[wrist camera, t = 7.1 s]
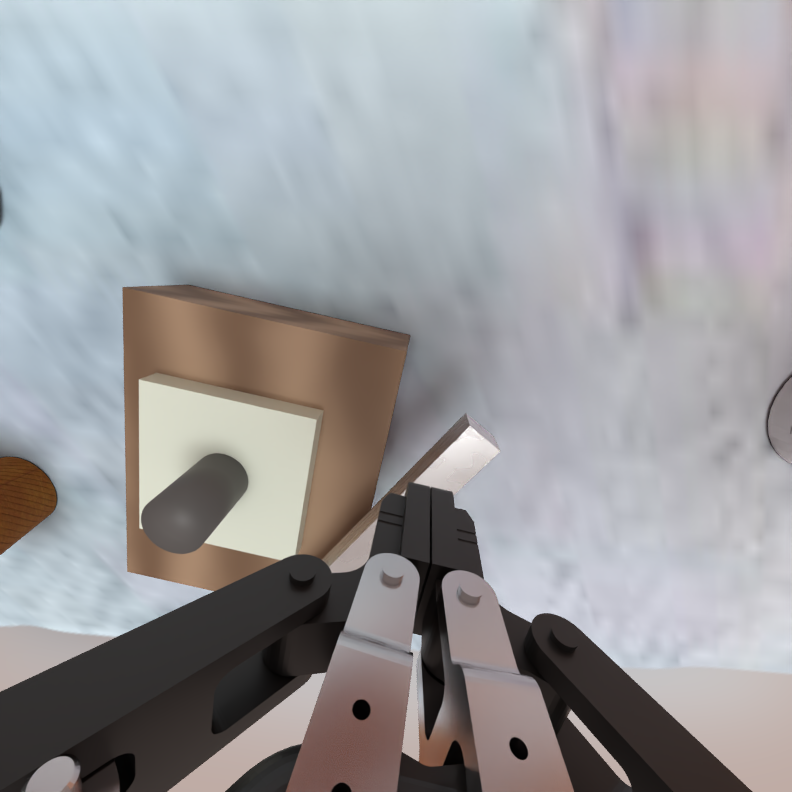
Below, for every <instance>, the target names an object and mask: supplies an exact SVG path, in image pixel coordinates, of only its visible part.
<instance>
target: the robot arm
mask: <svg viewBox="0 0 792 792" xmlns="http://www.w3.org/2000/svg"><path fill="white" fill-rule="evenodd" d="M768 433H769V437H770V440H771V443H772V446H773V447H774V449H775V450H776V452H777V453H778V455H780V456H781V457H782V458H783V459H784V460H786V461H787V462H788V463H790V464H792V377H791V378H790V379H789V380H788V381H787V382H786V383H785V385H784V386H783V388H782V389H781V391H780V392H779V393H778V395H777V396H776V399H775V401H774V403H773V405H772V408H771V410H770V415H769V420H768ZM413 633H414V634H418V635H422V646H421V650H420V653H419V656H418V659H417V691H418V692H417V694H418V720H419V748H420V749H419V762H418V761H416V760H414V759H413V758H411V757H409V756H408V755H406V754H404V753H403V752H402V745H403V737H404V729H405V721H406V712H407V704H408V697H409V689H410V680H411V672H412V663H413V653H412V652H410V650H411V642H412V634H413ZM325 672H327V673H326V676H325V679H324V682H323V684H322V688H321V690H320V693H319V696H318V699H317V702H316V705H315V708H314V711H313V714H312V717H311V719H310V723H309V725H308V728H307V731H306V734H305V737H304V740H303V743H302V744H300V745H296V746H292V747H289V748H286V749H284V750H281V751H279V752H277V753H275V754H273V755H271V756H269V757H267V758H266V759H264V760H262V761H261V762H260V763H258V764H257V765H255V766H254V767H253V768H251V769H250V770H249V771H247V772H246V773H245V774H244V775H243V776H242V777H241V778H239V779H238V780H237V781H236V782H235V783H234V784H233V785H232V786H231V787H230V788H229V789H228V790H226V791H225V792H752V791H751V790H750V789H749V788H748V787H747V786H746V785H745V784H743V782H741V781H740V780H739V779H738V778H737V777H736V776H735V775H734V774H733V773H732V772H731V771H730V770H729V769H728V768H726V767H725V766H724V765H723V764H722V763H721V762H720V761H719V760H718V759H717V758H716V757H715V756H714V755H713V754H712V753H711V752H709V751H708V750H707V749H706V748H705V747H704V746H703V745H702V744H701V743H700V742H699V741H698V740H697V739H696V738H695V737H693V736H692V735H691V734H690V733H689V732H688V731H687V730H686V729H685V728H684V727H683V726H682V725H681V724H680V723H679V722H677V721H676V720H675V719H674V718H673V717H672V716H671V715H670V714H669V713H668V712H667V711H666V710H665V709H663V707H662V706H661V705H659V704H658V703H657V702H656V701H655V700H654V699H653V698H652V697H651V696H650V695H649V694H648V693H647V692H646V691H645V690H643V689H642V688H641V687H640V686H639V685H638V684H637V683H636V682H635V681H634V680H633V679H632V678H631V677H630V676H629V675H627V674H626V673H625V672H624V671H623V670H622V669H621V668H620V667H619V666H618V665H617V664H616V663H615V662H614V661H613V660H612V659H610V658H609V657H608V656H607V655H606V654H605V653H604V652H603V651H602V650H601V649H600V648H599V647H598V646H597V645H596V644H595V643H593V642H592V641H591V640H590V639H589V638H588V637H587V636H586V635H585V634H584V633H583V632H582V631H581V630H580V629H578V628H577V627H576V626H575V625H574V624H572V623H571V622H569V621H568V620H566V619H564V618H562V617H560V616H557V615H554V614H549V613H544V614H539V615H537V616H536V617H535V618H534V619H533V621H532V623H530V622H528V621H526V620H524V619H522V618H520V617H519V616H517V615H515V614H513V613H511V612H509V611H507V610H506V609H505V608H503V607H502V606H501V605H499V603H498V600H497V597H496V594H495V592H494V590H493V589H492V587H491V586H490V585H489V584H488V583H487V582H486V581H485V580H484V577H483V571H482V566H481V560H480V554H479V549H478V545H477V537H476V532H475V526H474V521H473V520H472V519H471V517H470V516H469V514H468V513H467V511H466V510H462V509H458V508H455V507H454V497H453V492H452V491H447V490H443V489H439V488H435V487H431V488H430V486H426V485H422V484H417V483H413V482H408V484H407V488H406V492H405V496H402V495H398V494H394V493H389V494H388V495H387V496H386V497H385V498H384V499H383V500H382V502H381V507H380V511H379V515H378V519H377V524H376V528H375V532H374V537H373V541H372V546H371V550H370V555H369V559H368V560H367V562H366V563H365V564H364V565H363V566H361V567H360V568H358V569H356V570H353V571H350V572H342V573H332V572H331V570H330V568H329V566H328V565H327V564H326V563H325V562H324V561H323V560H321V559H320V558H317V557H315V556H312V555H306V554H298V555H293V556H289V557H287V558H284V559H282V560H280V561H278V562H276V563H274V564H272V565H269V566H267V567H265V568H263V569H261V570H259V571H257V572H255V573H252V574H250V575H248V576H246V577H244V578H242V579H240V580H238V581H235V582H233V583H231V584H229V585H227V586H225V587H223V588H220V589H218V590H216V591H214V592H212V593H210V594H208V595H206V596H203V597H201V598H199V599H197V600H195V601H193V602H191V603H189V604H186V605H184V606H182V607H180V608H178V609H176V610H174V611H172V612H169V613H167V614H165V615H163V616H161V617H159V618H157V619H155V620H152V621H150V622H148V623H146V624H144V625H142V626H140V627H138V628H135V629H133V630H131V631H129V632H127V633H125V634H123V635H120V636H118V637H116V638H114V639H112V640H110V641H108V642H106V643H104V644H101V645H99V646H97V647H95V648H93V649H91V650H89V651H87V652H84V653H82V654H80V655H78V656H76V657H74V658H72V659H70V660H67V661H65V662H63V663H61V664H59V665H57V666H55V667H52V668H50V669H48V670H46V671H44V672H42V673H40V674H38V675H36V676H33V677H31V678H29V679H27V680H25V681H23V682H20V683H18V684H16V685H14V686H12V687H10V688H8V689H6V690H4V691H1V692H0V792H167V791H168V790H169V789H171V788H172V787H173V786H175V785H176V784H177V783H178V782H180V781H181V780H182V779H184V778H185V777H186V776H187V775H189V774H190V773H191V772H192V771H194V770H195V769H196V768H198V767H199V766H200V765H201V764H203V763H204V762H205V761H207V760H208V759H209V758H210V757H212V756H213V755H214V754H216V753H217V752H218V751H219V750H221V749H222V748H223V747H224V746H226V745H227V744H228V743H230V742H231V741H232V740H233V739H235V738H236V737H237V736H239V735H240V734H241V733H242V732H244V731H245V730H246V729H247V728H249V727H250V726H251V725H253V724H254V723H255V722H256V721H258V720H259V719H260V718H262V717H263V716H264V715H265V714H267V713H268V712H269V711H270V710H272V709H273V708H274V707H275V706H277V705H278V704H279V703H281V702H282V701H283V700H284V699H286V698H287V697H288V696H290V695H291V694H292V693H293V692H295V691H296V690H297V689H299V688H300V687H301V686H302V685H304V684H305V682H307V681H308V680H309V678H310V677H311V675H312V674H317V673H325ZM570 710H572V711H573V712H574V713H575V714H576V715H577V716H578V718H579V719H580V720H581V721H582V722H583V723H584V725H586V726H587V728H588V729H589V730H590V731H591V733H592V734H593V735H594V736H595V737H596V738H597V739H598V740H599V742H600V743H601V744H602V745H603V746H604V747H605V748H606V749H607V751H608V752H609V753H610V754H611V755H612V756H613V758H614V759H615V760H616V761H617V762H618V763H619V765H620V766H621V767H622V768H623V770H624V771H625V773H626V774H627V776H628V778H629V781H630V783H631V787H630V786H628V785H627V784H625V783H624V782H623V781H622V780H620V778H619V777H618V776H617V775H616V774H615V773H614V771H613V770H612V769H611V768H610V767H609V766H608V764H607V763H606V762H605V761H604V760H603V758H602V757H601V756H600V755H599V754H598V753H597V751H596V750H595V749H594V748H593V747H592V746H591V744H590V743H589V742H588V741H587V740H586V739H585V737H584V736H583V735H582V734H581V733H580V732H579V730H578V729H577V728H576V727H575V726H574V725H573V723H572V722H571V721H570V720H569V719H568V718H567V716H568V714H569V712H570Z"/></svg>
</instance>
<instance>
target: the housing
mask: <svg viewBox="0 0 792 792" xmlns="http://www.w3.org/2000/svg"><path fill="white" fill-rule="evenodd" d="M409 339H410V335H407V334H403V333H398V332H394V331H390V330H385V329H381V328H376V327H372V326H368V325H363V324H359V323H354V322H350V321H346V320H341V319H337V318H332V317H328V316H323V315H319V314H315V313H310V312H306V311H301V310H297V309H293V308H288V307H284V306H279V305H275V304H271V303H266V302H262V301H257V300H253V299H248V298H244V297H240V296H235V295H231V294H226V293H222V292H218V291H213V290H209V289H204V288H200V287H196V286H191V285H167V286H140V287H123V340H124V398H125V457H126V516H127V572H132V573H136V574H141V575H145V576H149V577H154V578H158V579H163V580H167V581H172V582H176V583H180V584H185V585H189V586H194V587H198V588H203V589H207V590H212V591H216V590H218V589H220V588H223V587H225V586H227V585H229V584H231V583H233V582H235V581H238V580H240V579H242V578H244V577H246V576H248V575H250V574H252V573H255V572H257V571H259V570H261V569H263V568H265V567H267V566H269V565H272V564H274V563H276V562H278V561H280V560H277V559H273V558H269V557H264V556H260V555H255V554H251V553H246V552H242V551H238V550H233V549H229V548H224V547H220V546H215V545H211V544H207V543H204V544H203V545H202V546H201V547H200V548H199V549H197V550H196V551H194V552H191V553H187V554H176V553H171V552H168V551H165V550H163V549H161V548H160V547H158V546H156V545H155V544H154V543H153V542H152V541H151V540H150V539H149V538H148V537H147V535H146V534H145V532H144V530H143V529H140V528H139V379H142V378H144V377H147V376H150V375H152V374H155V373H160V374H165V375H169V376H174V377H178V378H183V379H187V380H191V381H196V382H200V383H205V384H209V385H214V386H218V387H222V388H227V389H231V390H236V391H240V392H244V393H249V394H253V395H258V396H262V397H267V398H271V399H275V400H280V401H284V402H289V403H293V404H297V405H302V406H306V407H311V408H315V409H320V410H324V411H323V417H322V423H321V429H320V435H319V442H318V448H317V454H316V460H315V466H314V472H313V478H312V484H311V490H310V496H309V503H308V509H307V515H306V521H305V527H304V533H303V539H302V545H301V549H300V551H299V553H298V554H306V555H312V556H315V557H317V558H320V559H321V560H322V559H323V558H324V557H325V556H326V555H327V554H328V553H329V552H330V551H331V550H332V549H333V548H334V547H335V546H336V545H337V544H338V543H339V542H340V541H341V540H342V538H343V537H344V536H345V535H346V534H347V533H348V532H349V531H350V530H351V529H352V528H353V527H354V526H355V525H356V524H357V523H358V522H359V521H360V520H361V519H362V518H363V517H364V516H365V515H366V514H367V513H368V512H369V511H370V510H371V507H372V503H373V498H374V494H375V490H376V485H377V481H378V476H379V472H380V468H381V463H382V459H383V454H384V450H385V446H386V441H387V437H388V432H389V428H390V424H391V419H392V415H393V410H394V406H395V402H396V397H397V393H398V389H399V384H400V380H401V375H402V371H403V367H404V362H405V358H406V353H407V349H408V344H409Z"/></svg>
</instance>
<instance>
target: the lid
mask: <svg viewBox="0 0 792 792" xmlns="http://www.w3.org/2000/svg"><path fill="white" fill-rule="evenodd" d="M323 411H324V410H320V409H315V408H311V407H306V406H302V405H297V404H293V403H289V402H284V401H280V400H275V399H271V398H267V397H262V396H258V395H253V394H249V393H244V392H240V391H236V390H231V389H227V388H222V387H218V386H214V385H209V384H205V383H200V382H196V381H191V380H187V379H183V378H178V377H174V376H169V375H165V374H160V373H155V374H152V375H150V376H147V377H144V378H142V379H139V528H140V529H143V530H144V532H145V534H146V535H147V537H148V538H149V539H150V540H151V541H152V542H153V543H154V544H155V545H156V546H158V547H160V548H161V549H163V550H165V551H168V552H171V553H176V554H187V553H191V552H194V551H196V550H197V549H199V548H200V547H201V546H202V545H203V544H204V543H207V544H211V545H215V546H220V547H224V548H229V549H233V550H238V551H242V552H246V553H251V554H255V555H260V556H264V557H269V558H273V559H277V560H282V559H284V558H287V557H289V556H293V555H298V553H299V551H300V549H301V545H302V539H303V533H304V527H305V521H306V515H307V509H308V503H309V496H310V490H311V484H312V478H313V472H314V466H315V460H316V454H317V448H318V442H319V435H320V429H321V423H322V417H323Z"/></svg>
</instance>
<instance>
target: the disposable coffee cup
mask: <svg viewBox="0 0 792 792" xmlns="http://www.w3.org/2000/svg"><path fill="white" fill-rule="evenodd" d="M56 502H57V497H56V492H55V489H54V486H53V485H52V483H51V481H50V480H49V478H48V477H47V476H46V475H45V473H44V472H43V471H42V470H40V469H39V468H38V467H36V466H35V465H33V464H32V463H30V462H28V461H26V460H23V459H20V458H16V457H3V458H0V555H1V554H2V553H4V552H5V551H6V550H7V549H8V548H10V547H11V546H12V545H13V544H14V543H16V542H17V541H18V540H19V539H21V538H22V537H23V536H24V535H26V534H27V533H28V532H29V531H31V530H32V529H33V528H34V527H35V526H37V525H38V524H39V523H40V522H42V521H43V520H44V519H45V518H47V517H48V516H49V515H50V514H51V513H52V512H53V511H54V509H55V507H56Z"/></svg>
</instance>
